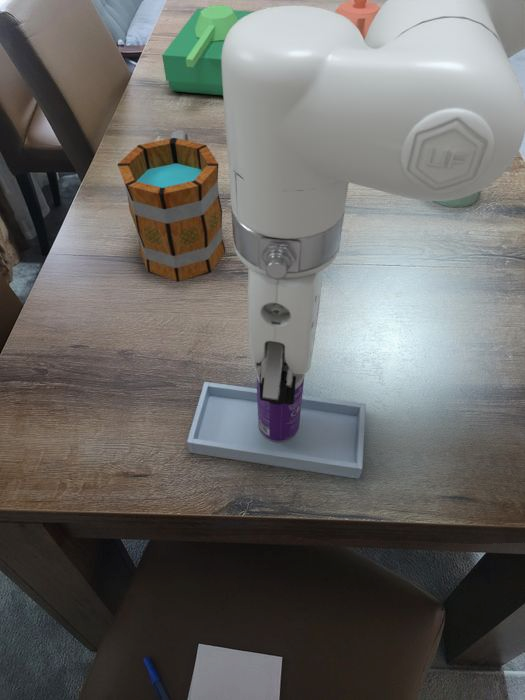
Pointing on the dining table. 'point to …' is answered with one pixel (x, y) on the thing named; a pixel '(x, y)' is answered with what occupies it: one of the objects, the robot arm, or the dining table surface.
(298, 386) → the container
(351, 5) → the teapot
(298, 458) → the tray
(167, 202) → the mug
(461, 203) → the bowl
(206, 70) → the toy tank
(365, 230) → the dining table surface
